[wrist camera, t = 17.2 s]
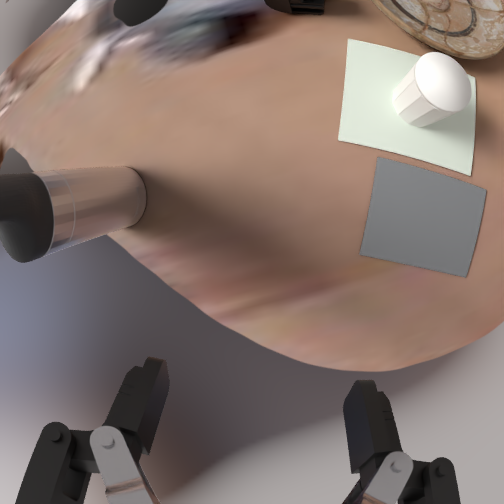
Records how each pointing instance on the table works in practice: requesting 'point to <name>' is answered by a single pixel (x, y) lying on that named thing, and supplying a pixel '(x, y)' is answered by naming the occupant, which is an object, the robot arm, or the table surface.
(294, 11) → the end cap
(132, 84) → the table surface
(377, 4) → the ceramic bowl
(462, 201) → the mat
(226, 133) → the table surface
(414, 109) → the white lidded canister
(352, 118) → the board
